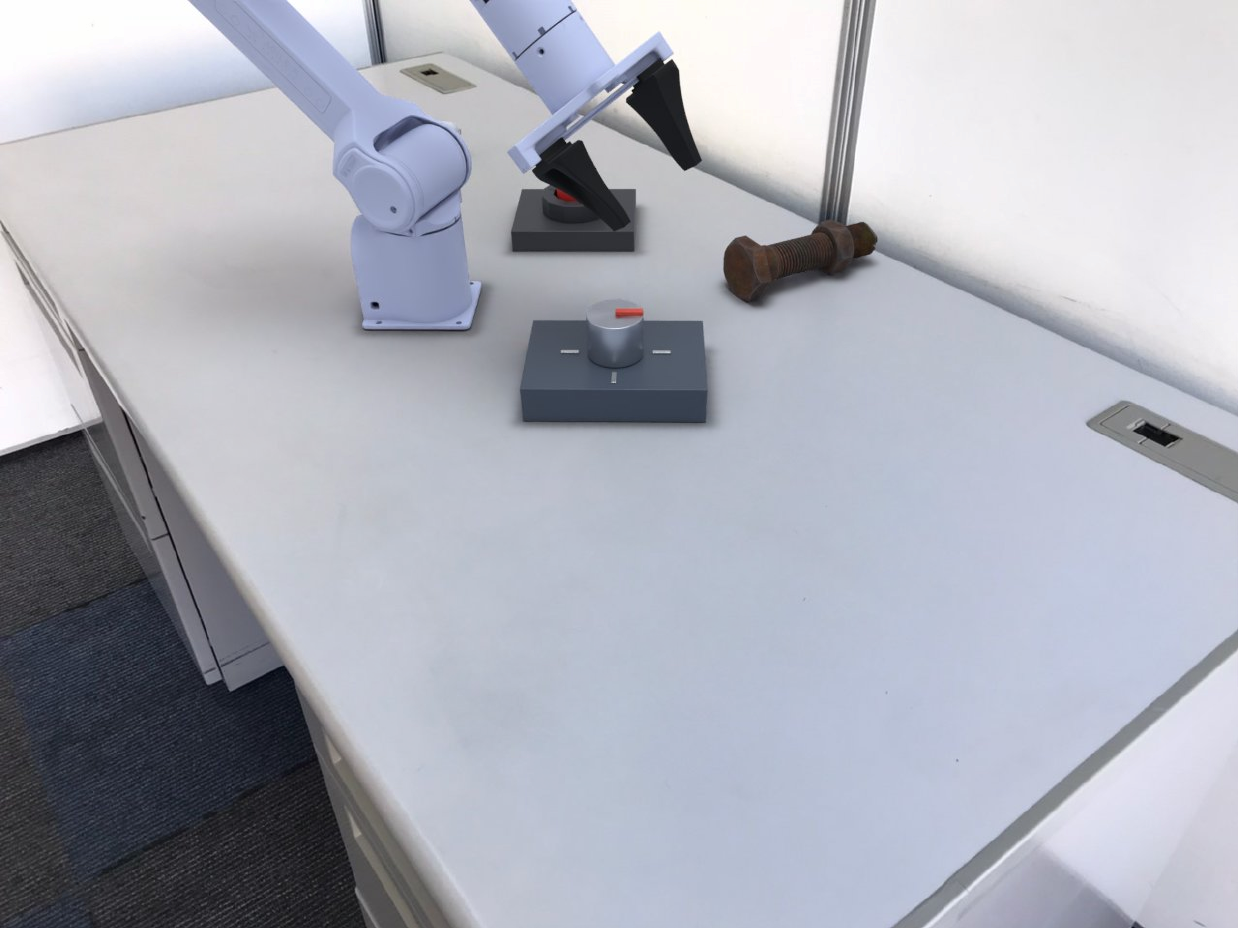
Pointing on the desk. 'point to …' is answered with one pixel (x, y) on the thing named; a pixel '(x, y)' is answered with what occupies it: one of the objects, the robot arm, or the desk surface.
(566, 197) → the button
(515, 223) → the button base
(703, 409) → the valve panel
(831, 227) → the bolt
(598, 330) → the rotary knob
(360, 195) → the robot arm
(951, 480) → the desk surface
